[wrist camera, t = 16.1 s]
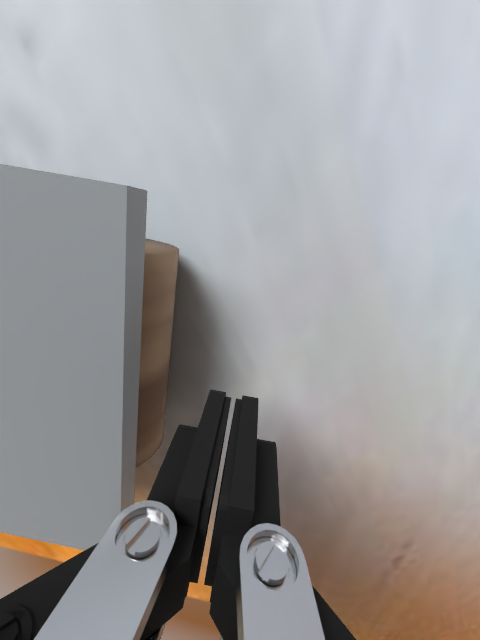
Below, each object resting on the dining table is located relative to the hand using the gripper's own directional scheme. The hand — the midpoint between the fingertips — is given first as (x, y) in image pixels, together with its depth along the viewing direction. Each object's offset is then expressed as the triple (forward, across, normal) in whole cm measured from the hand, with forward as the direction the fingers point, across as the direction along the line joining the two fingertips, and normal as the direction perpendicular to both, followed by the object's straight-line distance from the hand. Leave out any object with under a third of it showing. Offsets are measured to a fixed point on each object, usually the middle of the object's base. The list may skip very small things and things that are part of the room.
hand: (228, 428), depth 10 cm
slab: (+1, +9, 0) cm, 9 cm away
